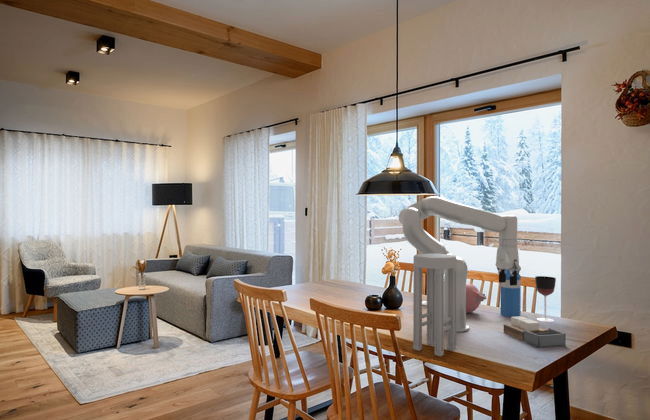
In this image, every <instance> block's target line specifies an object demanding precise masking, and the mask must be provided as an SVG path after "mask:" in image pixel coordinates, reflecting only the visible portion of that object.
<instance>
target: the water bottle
mask: <svg viewBox="0 0 650 420" xmlns="http://www.w3.org/2000/svg"><path fill="white" fill-rule="evenodd" d="M513 272H514V271H513ZM505 273H506V282H503V283H500V315H502V316H503V317H508V318H509V317H510V318H511V317H517V316H522V315H521V314H522V313H521V312H522V311H521V303H522V302H521V301H522V300H521V299H522V298H521V297H522V296H521V295H522V294H521V293H522V291H521V289H522V288H521V286H522V285H521V284H522V283H521V279H522V276H521V274H520V273H519V274H518V276H517V285H512V286H511V285H510V276H511V274H510V271H509V270H506V271H505Z"/></svg>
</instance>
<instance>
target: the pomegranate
mask: <svg viewBox="0 0 650 420" xmlns="http://www.w3.org/2000/svg"><path fill="white" fill-rule="evenodd" d="M484 300H487V296H486V294H485V293H484V292H483V293H481V292H480V290H479V289H478V287H476V285H474V284H472V283H470V282H467V281H466V314H469V313H474V312H475V311H476V310H477V309H478V308H479V306H480V304H481V302H484Z"/></svg>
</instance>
